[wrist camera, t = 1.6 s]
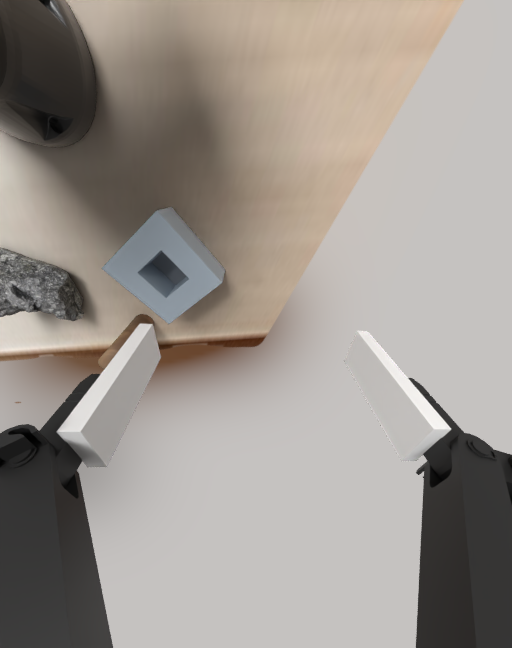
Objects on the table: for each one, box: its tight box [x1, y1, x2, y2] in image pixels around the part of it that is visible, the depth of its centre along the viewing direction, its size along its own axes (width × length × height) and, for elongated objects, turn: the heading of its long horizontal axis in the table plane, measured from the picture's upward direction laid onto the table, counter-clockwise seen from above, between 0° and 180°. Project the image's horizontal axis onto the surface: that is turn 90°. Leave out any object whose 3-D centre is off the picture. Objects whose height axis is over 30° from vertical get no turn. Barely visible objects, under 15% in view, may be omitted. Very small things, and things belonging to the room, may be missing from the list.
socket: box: [102, 207, 225, 324], centre depth 32 cm, size 12×12×6 cm
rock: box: [0, 248, 84, 321], centre depth 33 cm, size 13×13×10 cm
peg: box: [98, 314, 154, 369], centre depth 36 cm, size 4×4×12 cm
